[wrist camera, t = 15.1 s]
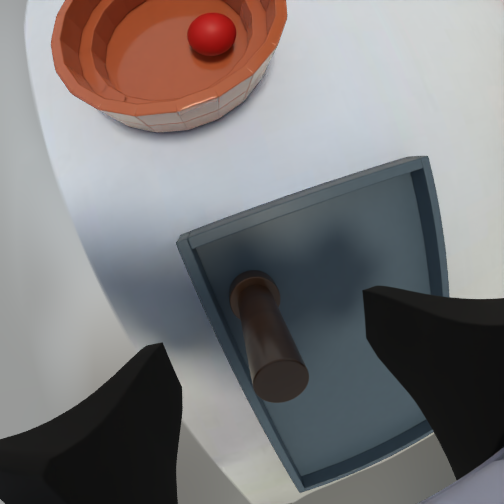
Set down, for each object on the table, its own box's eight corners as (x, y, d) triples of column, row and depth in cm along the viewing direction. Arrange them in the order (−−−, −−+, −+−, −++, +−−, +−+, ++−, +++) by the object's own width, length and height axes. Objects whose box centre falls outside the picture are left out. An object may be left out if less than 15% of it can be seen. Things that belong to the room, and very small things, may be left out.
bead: (188, 58, 14) (179, 49, 11) (195, 19, 13) (187, 5, 10) (233, 62, 14) (231, 51, 12) (240, 22, 13) (239, 8, 11)
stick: (222, 306, 17) (228, 404, 9) (238, 263, 16) (257, 339, 8) (266, 319, 17) (300, 416, 9) (283, 278, 17) (335, 357, 9)
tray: (295, 477, 22) (299, 493, 20) (180, 235, 16) (175, 242, 14) (433, 413, 22) (443, 425, 20) (409, 156, 16) (428, 155, 14)
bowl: (116, 163, 15) (76, 158, 10) (78, 23, 12) (44, -13, 7) (293, 99, 15) (323, 70, 10) (234, -32, 12) (241, -82, 8)
